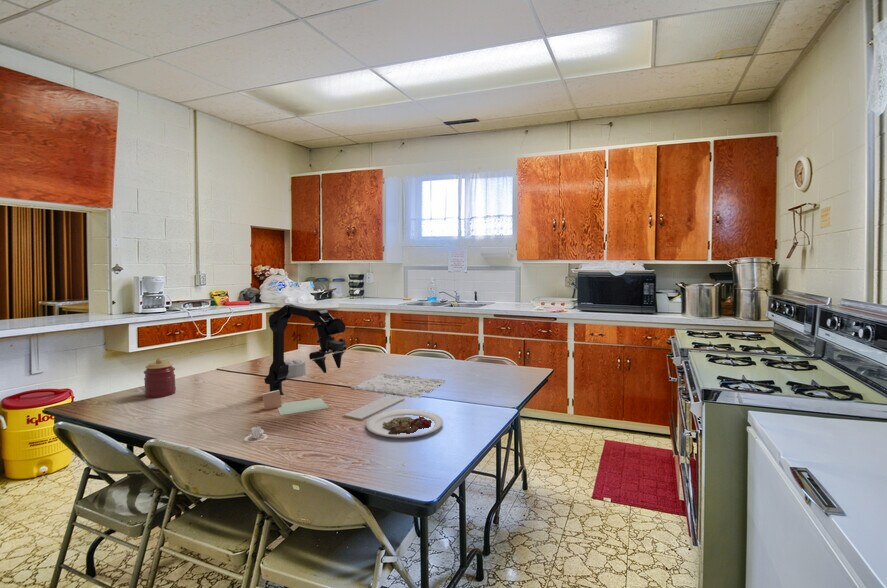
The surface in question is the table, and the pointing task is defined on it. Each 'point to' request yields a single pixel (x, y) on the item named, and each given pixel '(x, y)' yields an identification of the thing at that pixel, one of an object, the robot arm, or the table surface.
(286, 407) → the mat
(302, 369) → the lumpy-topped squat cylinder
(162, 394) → the canister
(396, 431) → the plated food
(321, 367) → the robot arm
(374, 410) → the baseboard
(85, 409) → the table surface
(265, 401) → the tile
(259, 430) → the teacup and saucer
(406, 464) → the table surface
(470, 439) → the table surface
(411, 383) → the carpet tile
